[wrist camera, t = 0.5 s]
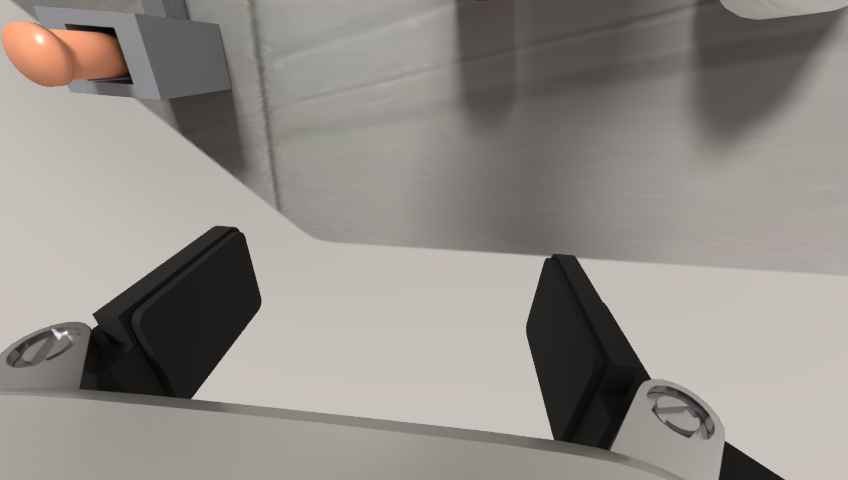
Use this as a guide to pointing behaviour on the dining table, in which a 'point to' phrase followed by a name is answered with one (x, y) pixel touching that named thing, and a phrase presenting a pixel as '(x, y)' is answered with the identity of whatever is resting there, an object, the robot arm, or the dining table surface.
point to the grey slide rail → (166, 8)
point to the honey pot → (780, 7)
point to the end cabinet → (150, 53)
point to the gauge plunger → (62, 54)
